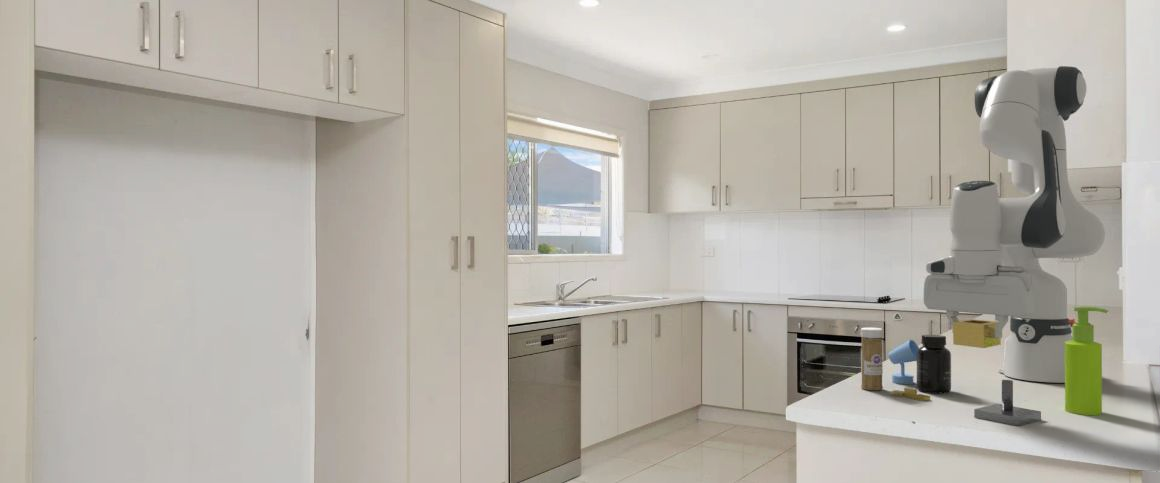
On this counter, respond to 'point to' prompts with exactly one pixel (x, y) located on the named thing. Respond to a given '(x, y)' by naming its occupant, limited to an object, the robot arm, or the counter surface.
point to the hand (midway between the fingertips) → (976, 336)
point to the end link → (974, 333)
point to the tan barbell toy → (910, 394)
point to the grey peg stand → (1007, 409)
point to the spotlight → (903, 361)
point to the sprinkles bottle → (871, 358)
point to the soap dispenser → (1083, 367)
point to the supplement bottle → (933, 365)
